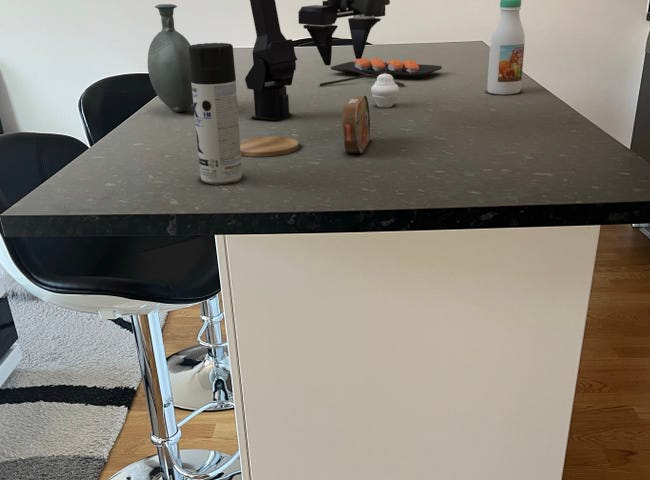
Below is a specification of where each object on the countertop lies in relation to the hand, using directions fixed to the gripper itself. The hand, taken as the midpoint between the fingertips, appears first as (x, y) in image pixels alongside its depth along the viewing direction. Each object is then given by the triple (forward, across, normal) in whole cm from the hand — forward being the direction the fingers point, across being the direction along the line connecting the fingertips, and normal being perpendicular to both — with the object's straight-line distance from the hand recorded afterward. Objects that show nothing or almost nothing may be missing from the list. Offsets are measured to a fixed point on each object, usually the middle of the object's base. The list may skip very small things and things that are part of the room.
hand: (343, 62), depth 145 cm
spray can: (+13, -38, -5) cm, 40 cm away
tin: (+13, -10, -11) cm, 19 cm away
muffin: (+13, +24, +8) cm, 28 cm away
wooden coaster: (+13, -19, +3) cm, 23 cm away
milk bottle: (+13, +52, -6) cm, 54 cm away
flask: (+13, -5, +44) cm, 46 cm away
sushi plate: (+13, +52, +33) cm, 63 cm away
